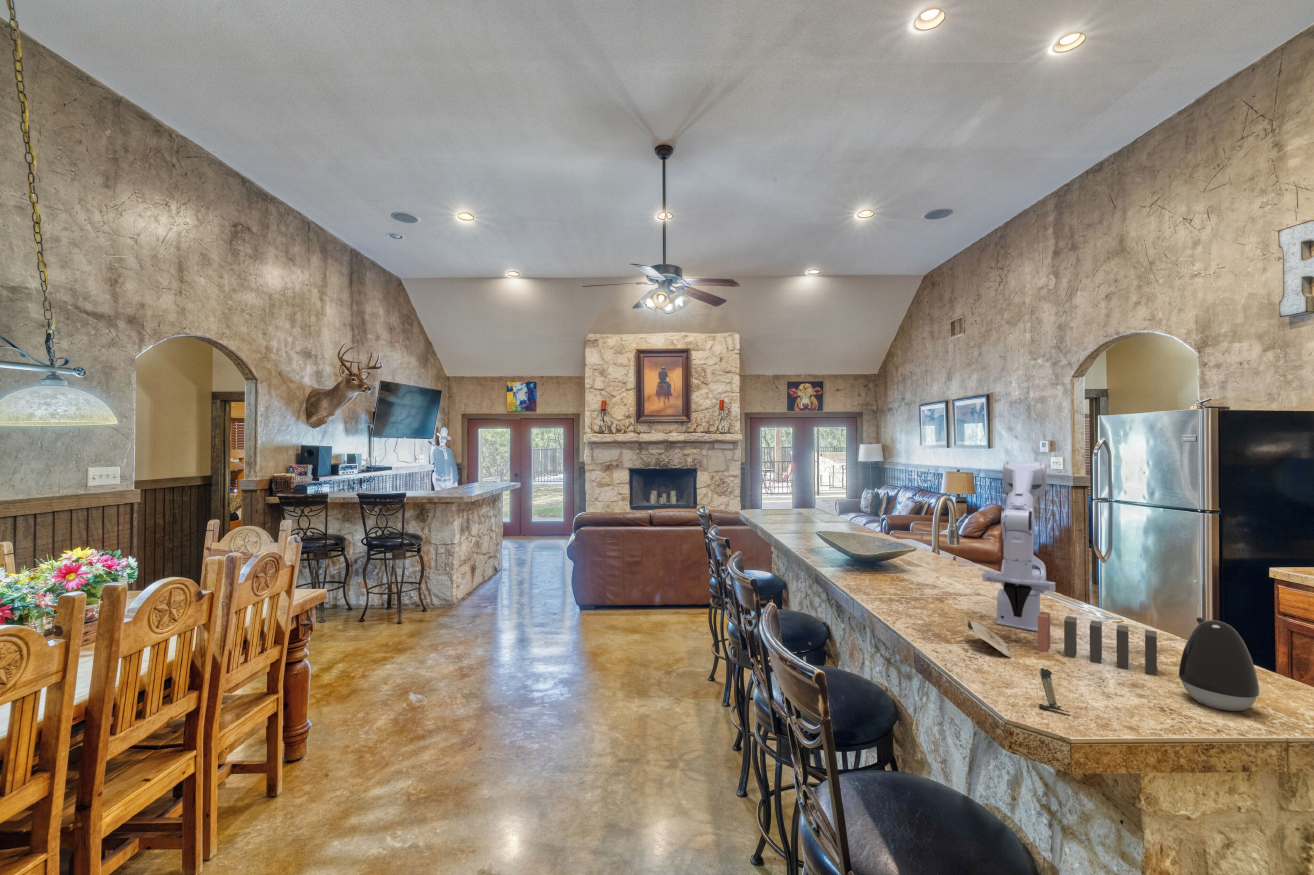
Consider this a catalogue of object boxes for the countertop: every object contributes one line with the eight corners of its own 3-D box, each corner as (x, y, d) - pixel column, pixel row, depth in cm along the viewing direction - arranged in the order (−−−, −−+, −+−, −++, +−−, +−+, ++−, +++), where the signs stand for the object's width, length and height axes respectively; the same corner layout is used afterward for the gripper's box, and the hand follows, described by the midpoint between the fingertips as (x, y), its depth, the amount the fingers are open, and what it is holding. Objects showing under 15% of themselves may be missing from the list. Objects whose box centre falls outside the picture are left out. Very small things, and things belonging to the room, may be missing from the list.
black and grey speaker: (1234, 696, 102) (1233, 615, 102) (1275, 722, 92) (1274, 632, 92) (1166, 688, 105) (1165, 609, 105) (1199, 712, 95) (1198, 625, 96)
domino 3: (1116, 667, 115) (1116, 629, 115) (1117, 661, 119) (1117, 624, 119) (1127, 669, 114) (1127, 631, 114) (1128, 663, 118) (1128, 626, 118)
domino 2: (1089, 661, 118) (1089, 624, 118) (1091, 655, 122) (1091, 620, 122) (1100, 663, 117) (1100, 626, 117) (1102, 657, 121) (1101, 621, 121)
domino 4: (1145, 673, 112) (1144, 634, 112) (1145, 666, 116) (1145, 629, 116) (1156, 676, 111) (1156, 637, 111) (1156, 669, 115) (1156, 631, 115)
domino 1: (1064, 656, 121) (1064, 620, 122) (1066, 650, 125) (1066, 615, 125) (1074, 658, 120) (1074, 622, 120) (1076, 652, 124) (1076, 617, 124)
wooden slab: (1017, 669, 124) (972, 631, 134) (1026, 657, 123) (981, 620, 133) (992, 667, 119) (948, 627, 128) (1002, 654, 118) (956, 616, 127)
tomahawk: (1086, 726, 92) (1087, 720, 92) (1039, 712, 95) (1039, 706, 95) (1076, 682, 109) (1077, 676, 109) (1036, 671, 113) (1037, 666, 113)
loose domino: (1050, 646, 127) (1050, 612, 127) (1047, 652, 123) (1046, 617, 124) (1040, 645, 128) (1040, 611, 129) (1037, 650, 125) (1037, 615, 125)
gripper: (979, 557, 132) (979, 613, 132) (1052, 566, 122) (1052, 626, 122) (986, 553, 137) (986, 607, 137) (1056, 562, 127) (1056, 620, 127)
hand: (1017, 616), depth 130 cm, fingers closed
